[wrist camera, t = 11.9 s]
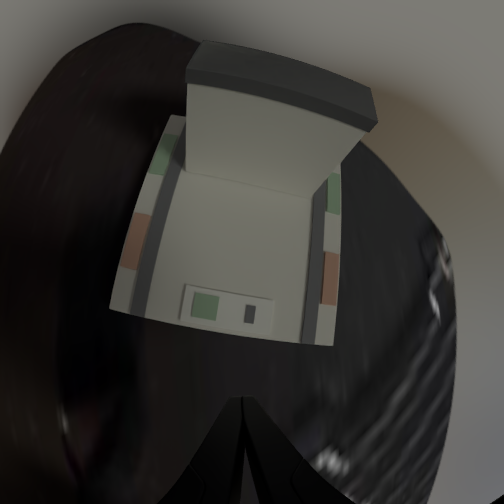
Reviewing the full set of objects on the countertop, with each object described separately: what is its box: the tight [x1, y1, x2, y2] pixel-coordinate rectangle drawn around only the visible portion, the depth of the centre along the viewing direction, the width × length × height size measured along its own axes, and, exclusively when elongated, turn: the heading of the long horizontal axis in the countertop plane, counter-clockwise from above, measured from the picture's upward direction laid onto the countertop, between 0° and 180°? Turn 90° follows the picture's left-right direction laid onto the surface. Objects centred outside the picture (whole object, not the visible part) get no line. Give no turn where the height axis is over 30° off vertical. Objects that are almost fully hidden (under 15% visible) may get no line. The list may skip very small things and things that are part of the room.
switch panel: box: [109, 115, 341, 346], centre depth 21 cm, size 17×16×2 cm
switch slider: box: [185, 40, 378, 199], centre depth 17 cm, size 3×10×10 cm, turn 82°
